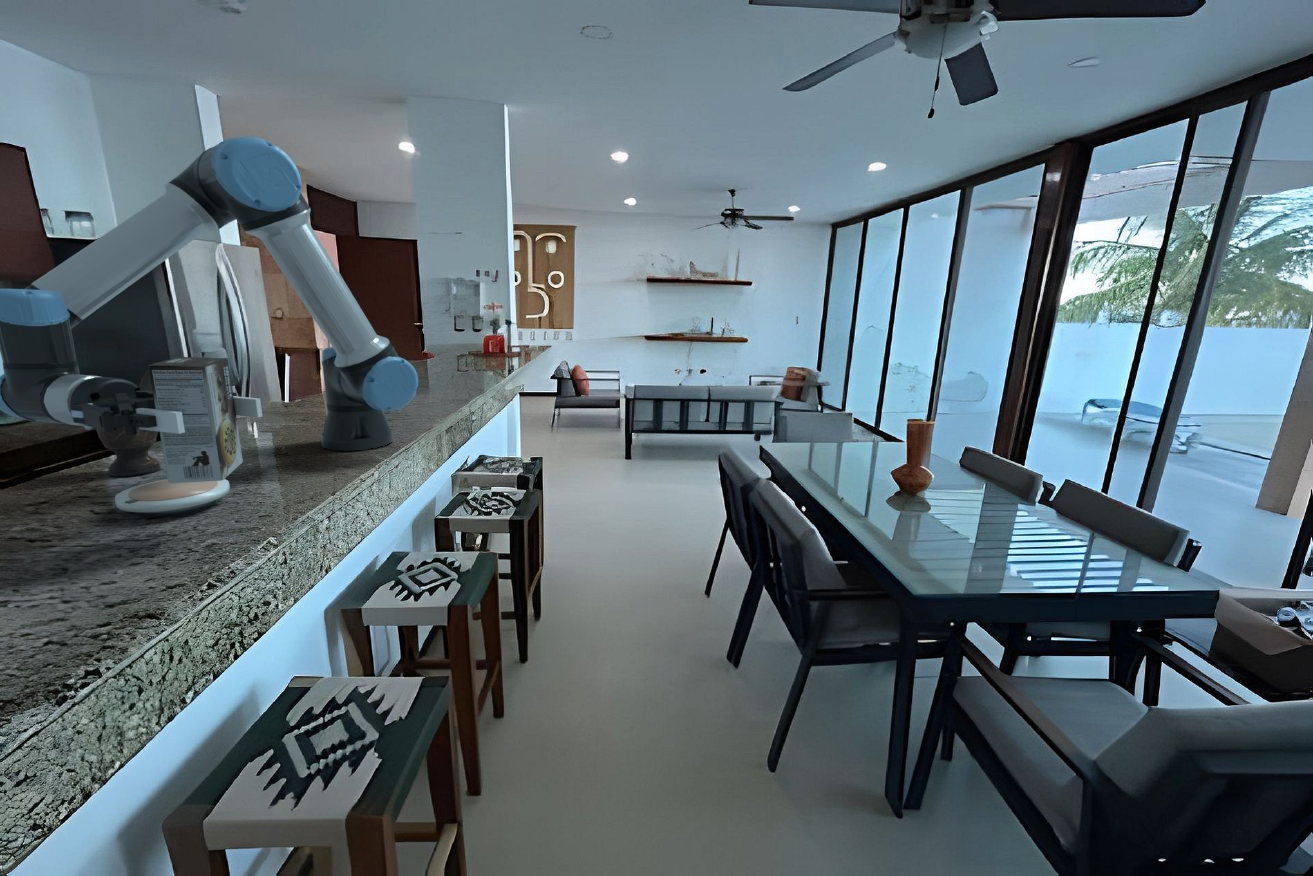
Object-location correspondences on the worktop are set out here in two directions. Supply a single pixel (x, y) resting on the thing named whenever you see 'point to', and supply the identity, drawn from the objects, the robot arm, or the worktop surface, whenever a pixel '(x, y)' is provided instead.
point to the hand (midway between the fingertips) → (222, 414)
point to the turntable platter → (170, 495)
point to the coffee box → (198, 418)
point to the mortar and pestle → (131, 446)
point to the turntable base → (176, 511)
